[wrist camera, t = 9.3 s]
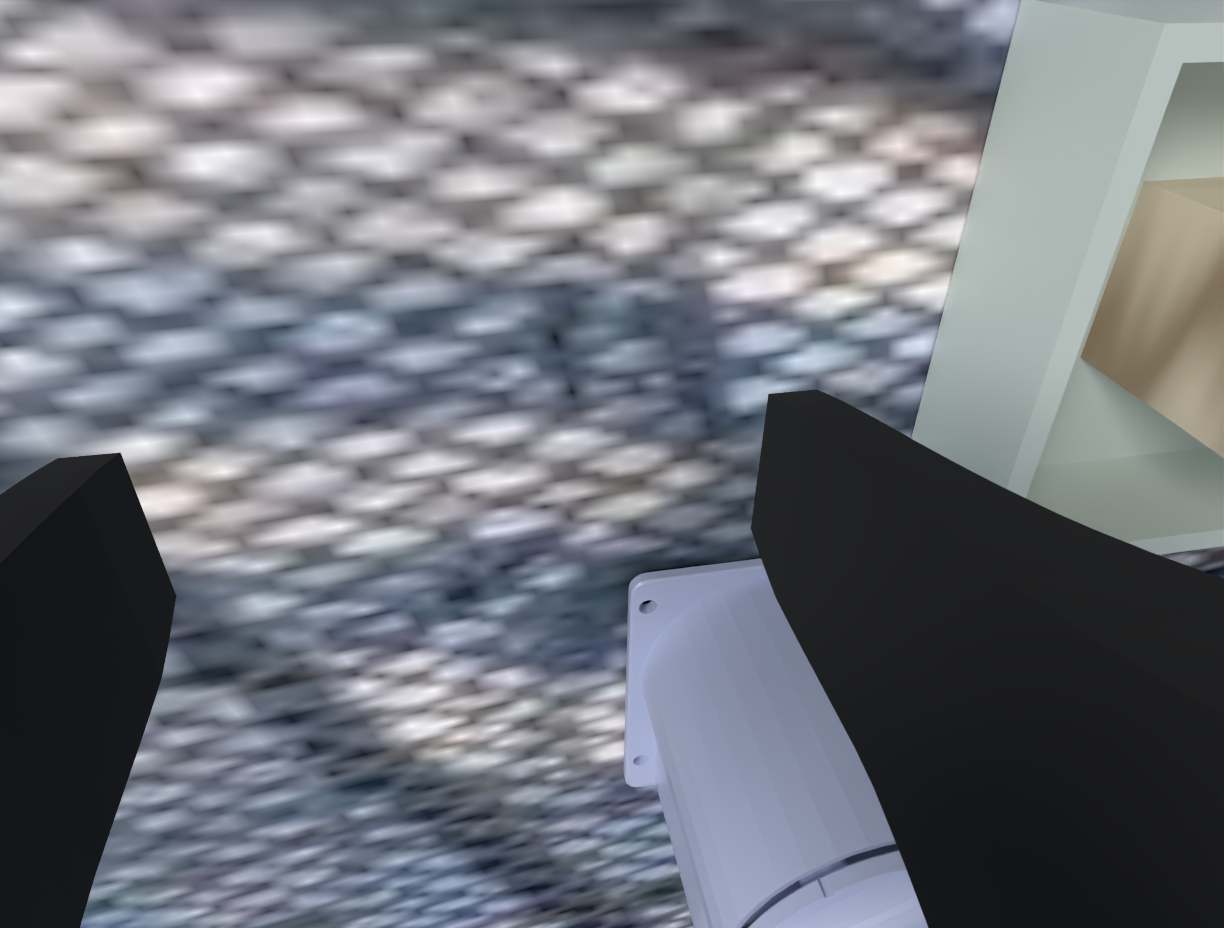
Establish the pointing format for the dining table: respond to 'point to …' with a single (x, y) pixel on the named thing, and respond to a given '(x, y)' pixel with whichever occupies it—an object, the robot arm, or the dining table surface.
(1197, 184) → the birch block
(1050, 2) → the bin
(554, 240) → the dining table surface
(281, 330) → the dining table surface
